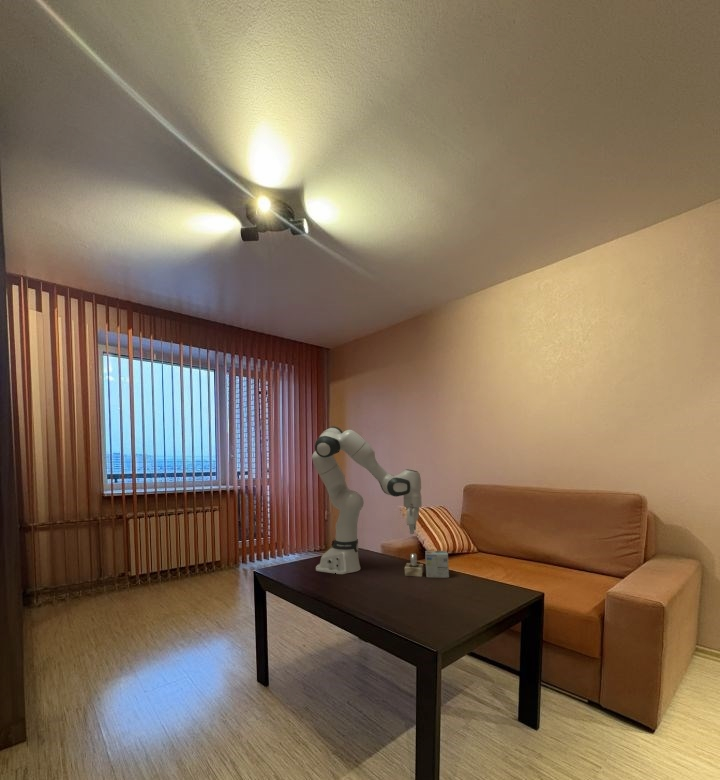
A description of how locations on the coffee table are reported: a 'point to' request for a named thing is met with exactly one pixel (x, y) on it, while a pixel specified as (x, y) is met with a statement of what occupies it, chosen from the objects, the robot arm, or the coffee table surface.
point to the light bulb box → (437, 564)
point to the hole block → (413, 570)
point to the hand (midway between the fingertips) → (412, 531)
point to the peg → (413, 559)
